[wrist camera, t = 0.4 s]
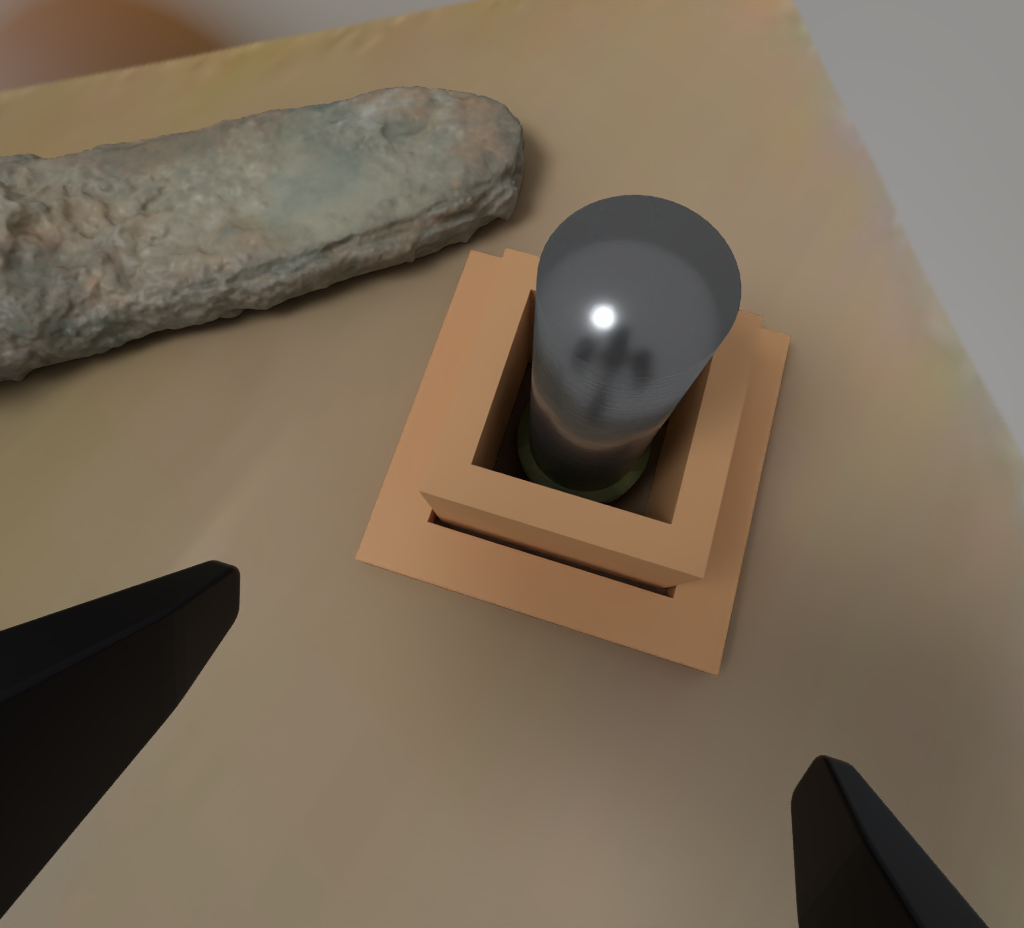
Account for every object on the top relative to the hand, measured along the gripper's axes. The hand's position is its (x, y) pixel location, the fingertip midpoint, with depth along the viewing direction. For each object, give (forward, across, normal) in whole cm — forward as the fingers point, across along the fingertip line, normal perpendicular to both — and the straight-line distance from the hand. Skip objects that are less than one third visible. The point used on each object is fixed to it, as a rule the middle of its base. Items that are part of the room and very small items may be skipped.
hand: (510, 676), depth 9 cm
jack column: (+15, 0, +2) cm, 15 cm away
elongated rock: (+17, +20, +1) cm, 26 cm away
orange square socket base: (+15, 0, +2) cm, 15 cm away
